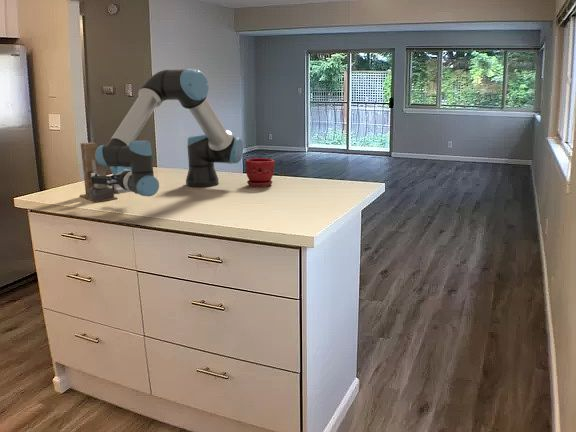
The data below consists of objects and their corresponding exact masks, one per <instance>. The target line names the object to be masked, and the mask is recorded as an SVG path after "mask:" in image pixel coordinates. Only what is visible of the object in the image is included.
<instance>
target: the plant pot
mask: <svg viewBox="0 0 576 432" xmlns="http://www.w3.org/2000/svg"><path fill="white" fill-rule="evenodd" d="M265 169H266V170H265ZM274 169H275V160H274V159H272V158H247V159H245V172H246V177H247V179H248V180H247V181H246V182H247V185H248V186H251V187H253V188H256V187H257V188H258V187H259V188H260V187H262V188H263V187H264V186H265V187H269V186H271V185H272V183H273V180H272V179H273V175H274V171H275V170H274Z"/></svg>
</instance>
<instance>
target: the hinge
mask: <svg viewBox="0 0 576 432" xmlns="http://www.w3.org/2000/svg"><path fill="white" fill-rule="evenodd" d="M122 172H124V171H122ZM122 172H119V173H117V174H115V175H119V174H121V173H122ZM110 186H111V188H113V191H114V193H117V194H125V193H132V192H131V191H128V190H125V189H123V188H121V187H120V185H118V184H112V185H110Z"/></svg>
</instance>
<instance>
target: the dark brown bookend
mask: <svg viewBox="0 0 576 432" xmlns="http://www.w3.org/2000/svg"><path fill="white" fill-rule="evenodd" d="M97 148H98V143H97V142H81V143H80V151H81V161H82V170H83V181H84V189H85V194H80V195H79V197H81V198H83V199H86V200H88V201H91V202H92V203H93V202H94V203H101V202H108V201H112V200H115V201H116V200H118V197H117V196H115V192H114V191H113V188H112V186H111V187H110V186H109V185H107V188H108V189H101V190H96V189H94V184H92V181H91V173H93V169H92V159H96V158H95V152H96V149H97Z"/></svg>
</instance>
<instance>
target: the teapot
mask: <svg viewBox="0 0 576 432" xmlns="http://www.w3.org/2000/svg"><path fill="white" fill-rule="evenodd" d="M109 167H110V168H109V169H110V171H111V173H112V175H115V174H117V173H119V172H122V171H124V169H127V170H131V167H121V166H116V167H117V168H116V167H115V166H109Z"/></svg>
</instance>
